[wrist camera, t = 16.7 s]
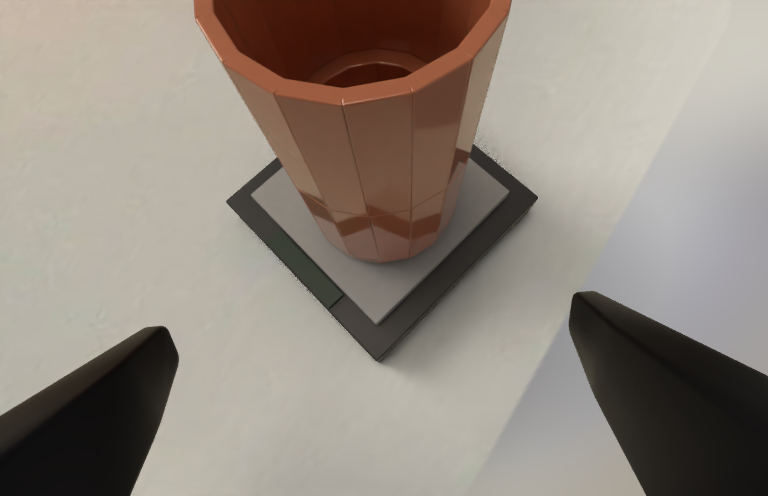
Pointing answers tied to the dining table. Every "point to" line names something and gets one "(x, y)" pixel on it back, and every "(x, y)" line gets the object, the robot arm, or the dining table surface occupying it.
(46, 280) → the dining table surface
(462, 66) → the orange faceted cup
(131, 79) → the dining table surface
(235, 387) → the dining table surface
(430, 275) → the scale
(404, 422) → the dining table surface
